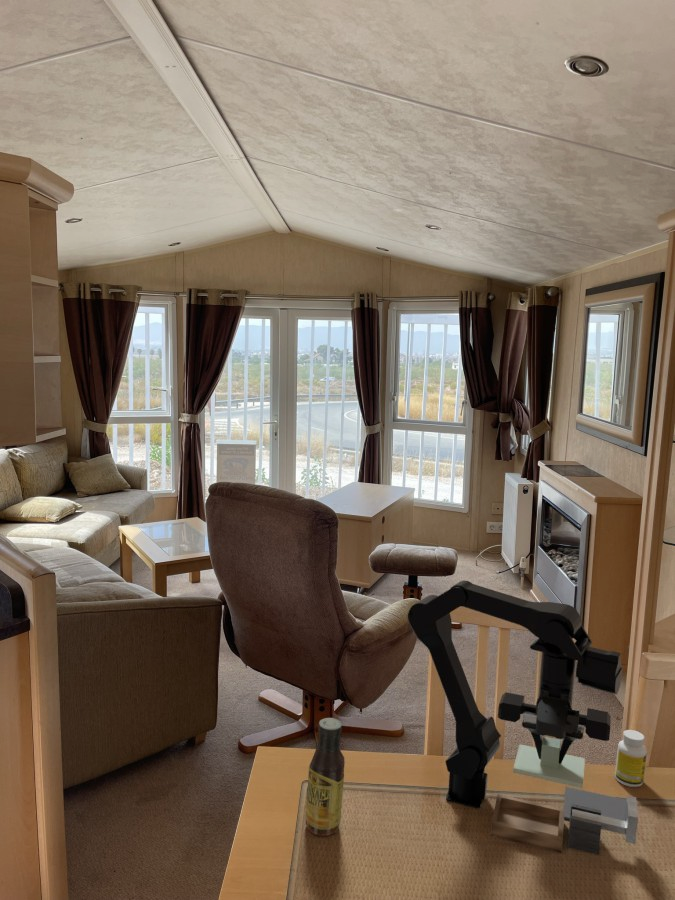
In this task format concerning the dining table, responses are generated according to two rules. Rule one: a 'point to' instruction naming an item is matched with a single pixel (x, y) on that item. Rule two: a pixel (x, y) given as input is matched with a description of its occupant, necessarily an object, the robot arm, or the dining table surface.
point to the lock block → (584, 831)
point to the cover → (550, 764)
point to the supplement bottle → (631, 759)
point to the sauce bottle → (326, 781)
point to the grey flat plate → (594, 803)
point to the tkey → (617, 825)
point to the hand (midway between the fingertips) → (550, 760)
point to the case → (528, 823)
